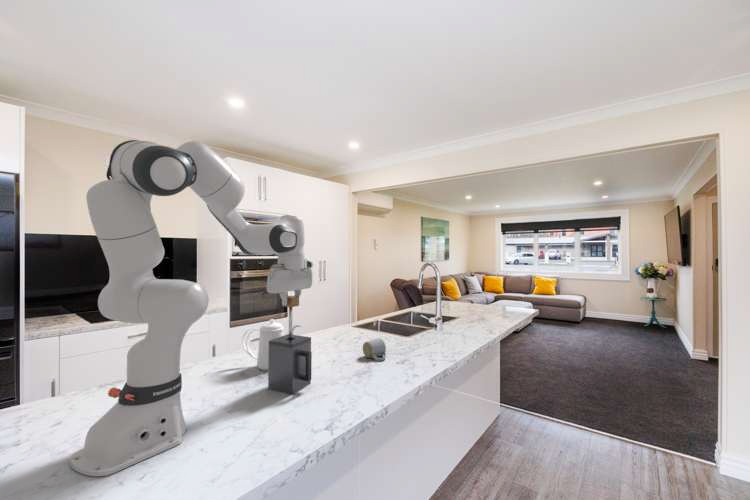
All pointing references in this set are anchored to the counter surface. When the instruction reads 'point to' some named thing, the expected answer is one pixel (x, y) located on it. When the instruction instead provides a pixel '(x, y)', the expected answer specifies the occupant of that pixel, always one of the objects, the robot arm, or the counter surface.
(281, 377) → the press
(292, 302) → the plunger
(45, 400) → the counter surface
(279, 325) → the coffeepot
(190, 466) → the counter surface
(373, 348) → the ceramic mug
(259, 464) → the counter surface
